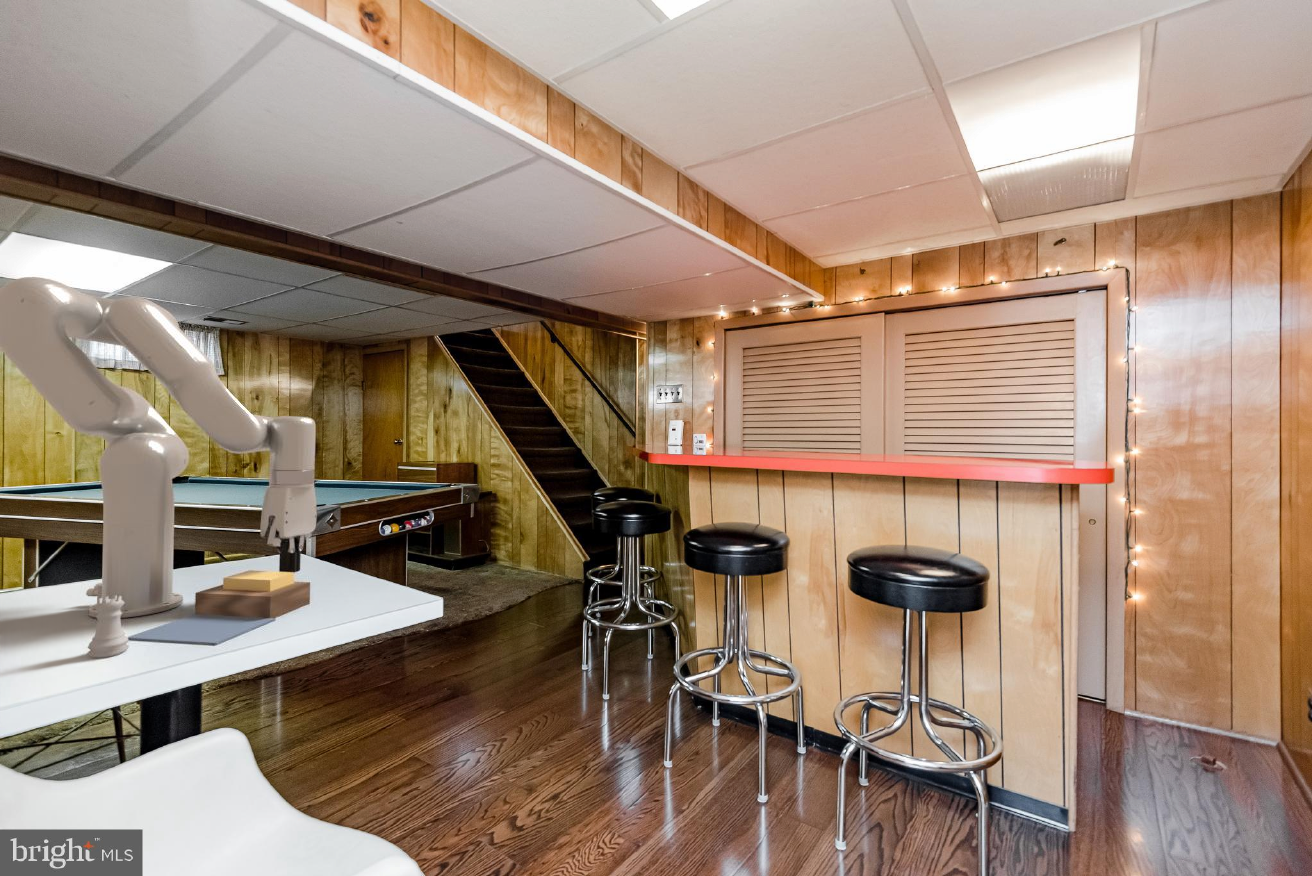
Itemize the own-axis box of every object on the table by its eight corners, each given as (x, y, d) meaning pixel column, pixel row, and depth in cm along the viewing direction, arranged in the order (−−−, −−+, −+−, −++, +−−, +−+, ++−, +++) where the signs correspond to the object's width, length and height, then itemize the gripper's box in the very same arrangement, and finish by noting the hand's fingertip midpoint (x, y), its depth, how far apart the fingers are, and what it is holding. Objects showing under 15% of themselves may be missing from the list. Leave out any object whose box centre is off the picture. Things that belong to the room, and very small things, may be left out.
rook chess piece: (105, 647, 85) (106, 593, 85) (137, 647, 86) (138, 593, 86) (77, 659, 81) (78, 602, 81) (111, 659, 81) (113, 602, 81)
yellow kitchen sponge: (223, 589, 104) (223, 577, 104) (249, 580, 110) (249, 570, 110) (270, 591, 103) (270, 580, 103) (294, 583, 109) (294, 572, 109)
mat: (126, 639, 89) (126, 637, 89) (194, 615, 101) (194, 614, 101) (216, 644, 87) (216, 642, 87) (275, 620, 99) (275, 618, 99)
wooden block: (194, 615, 101) (195, 592, 101) (240, 599, 111) (241, 579, 111) (270, 619, 100) (270, 596, 100) (309, 603, 110) (310, 582, 110)
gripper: (300, 475, 122) (298, 563, 122) (244, 481, 107) (241, 580, 107) (334, 477, 121) (332, 564, 121) (282, 482, 106) (279, 582, 106)
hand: (289, 571), depth 114 cm, fingers closed
